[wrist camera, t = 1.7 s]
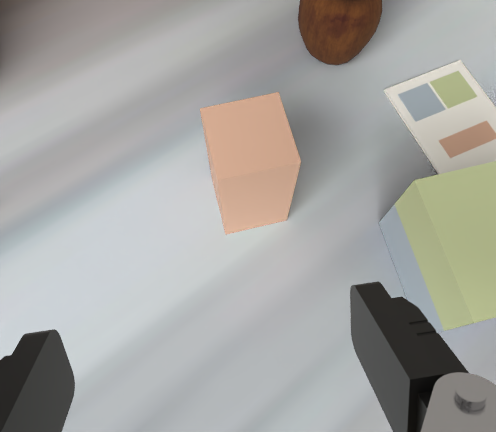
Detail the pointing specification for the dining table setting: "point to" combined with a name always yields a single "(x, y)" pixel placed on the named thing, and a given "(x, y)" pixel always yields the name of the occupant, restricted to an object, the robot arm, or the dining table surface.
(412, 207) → the pedestal
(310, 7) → the wooden figurine
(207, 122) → the brick
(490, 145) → the page
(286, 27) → the dining table surface
